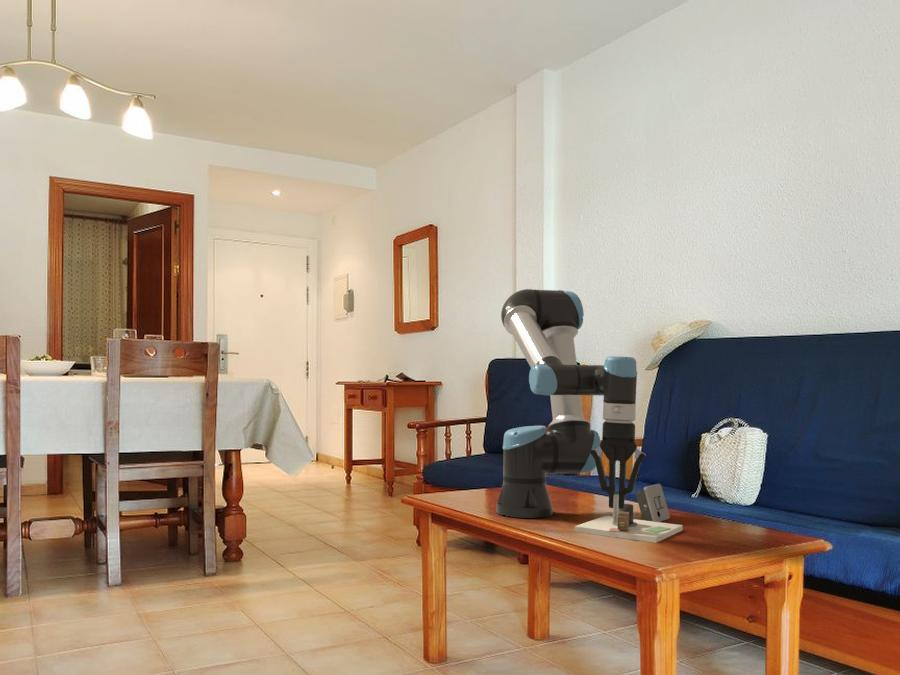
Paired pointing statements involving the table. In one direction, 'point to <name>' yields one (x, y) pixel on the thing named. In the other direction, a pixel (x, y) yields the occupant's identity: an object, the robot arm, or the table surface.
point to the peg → (625, 517)
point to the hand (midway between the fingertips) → (616, 522)
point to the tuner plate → (630, 529)
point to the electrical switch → (653, 503)
